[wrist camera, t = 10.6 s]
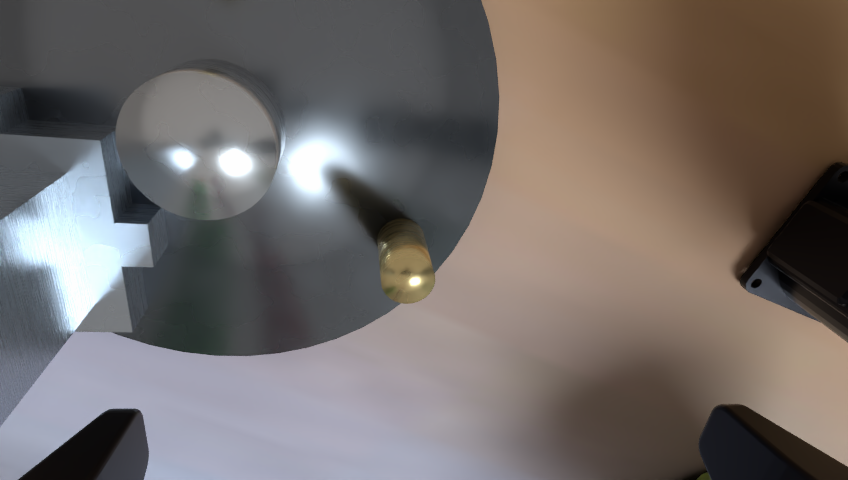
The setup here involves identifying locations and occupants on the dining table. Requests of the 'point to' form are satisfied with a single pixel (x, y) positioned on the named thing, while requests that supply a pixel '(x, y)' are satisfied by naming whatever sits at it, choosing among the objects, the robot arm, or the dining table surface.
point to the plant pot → (704, 477)
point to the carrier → (275, 149)
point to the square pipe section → (65, 241)
